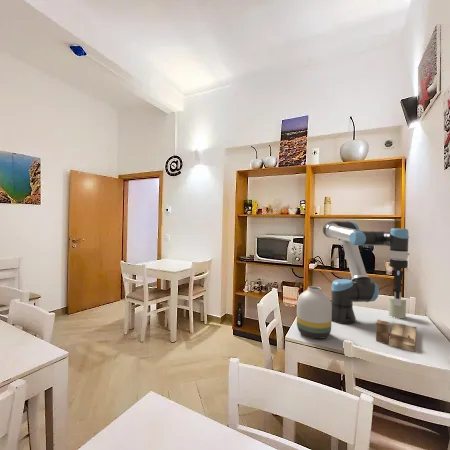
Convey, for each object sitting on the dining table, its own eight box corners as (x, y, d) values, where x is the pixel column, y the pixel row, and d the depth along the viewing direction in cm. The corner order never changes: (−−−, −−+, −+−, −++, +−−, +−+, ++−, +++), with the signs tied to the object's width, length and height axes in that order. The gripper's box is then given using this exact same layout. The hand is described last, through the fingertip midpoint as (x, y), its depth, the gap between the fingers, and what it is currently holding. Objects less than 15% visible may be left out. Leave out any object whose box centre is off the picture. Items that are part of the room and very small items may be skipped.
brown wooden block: (376, 341, 129) (376, 322, 129) (377, 337, 133) (377, 319, 133) (413, 350, 120) (414, 330, 120) (414, 346, 124) (414, 327, 124)
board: (388, 345, 124) (388, 339, 124) (393, 327, 147) (393, 322, 147) (414, 351, 118) (414, 345, 118) (416, 331, 141) (416, 327, 141)
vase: (331, 344, 124) (332, 293, 124) (294, 338, 130) (295, 289, 130) (330, 330, 140) (331, 285, 140) (297, 326, 146) (298, 282, 146)
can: (405, 315, 166) (405, 296, 165) (406, 320, 158) (406, 300, 158) (388, 313, 170) (388, 294, 170) (388, 317, 163) (388, 297, 163)
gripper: (408, 263, 118) (407, 310, 119) (407, 257, 139) (406, 297, 140) (388, 261, 123) (387, 306, 123) (390, 256, 143) (389, 294, 144)
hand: (397, 301), depth 131 cm, fingers open, 13 cm apart
